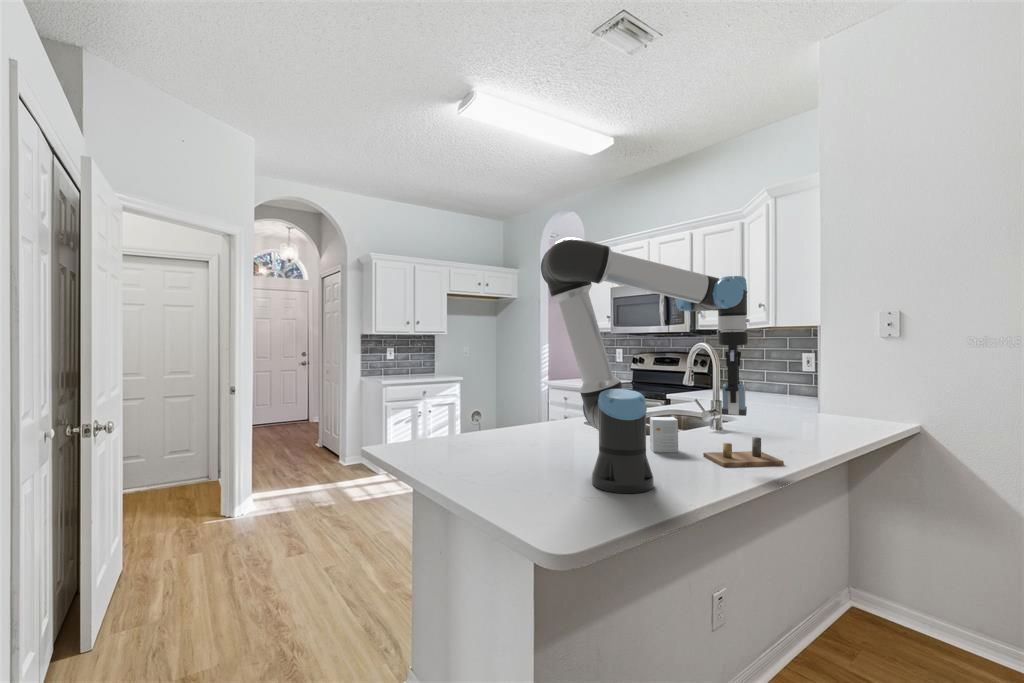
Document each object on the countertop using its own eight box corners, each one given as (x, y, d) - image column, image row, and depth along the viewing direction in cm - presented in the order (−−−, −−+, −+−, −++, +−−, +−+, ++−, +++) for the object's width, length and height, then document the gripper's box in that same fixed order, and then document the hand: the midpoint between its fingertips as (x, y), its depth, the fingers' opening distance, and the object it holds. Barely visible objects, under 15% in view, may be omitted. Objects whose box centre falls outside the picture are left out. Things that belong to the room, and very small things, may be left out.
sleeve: (746, 415, 136) (745, 386, 136) (721, 414, 139) (721, 386, 139) (746, 412, 142) (746, 384, 141) (723, 411, 144) (722, 383, 144)
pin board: (722, 466, 140) (722, 443, 140) (703, 456, 152) (703, 434, 152) (783, 465, 141) (783, 441, 141) (759, 454, 153) (759, 433, 153)
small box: (674, 448, 163) (674, 416, 162) (678, 452, 157) (678, 419, 157) (649, 448, 163) (649, 416, 163) (652, 452, 158) (652, 419, 158)
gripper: (746, 331, 130) (747, 418, 130) (748, 330, 147) (749, 408, 147) (715, 331, 133) (717, 417, 133) (721, 331, 150) (722, 407, 150)
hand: (734, 412), depth 140 cm, fingers closed on sleeve, 6 cm apart
